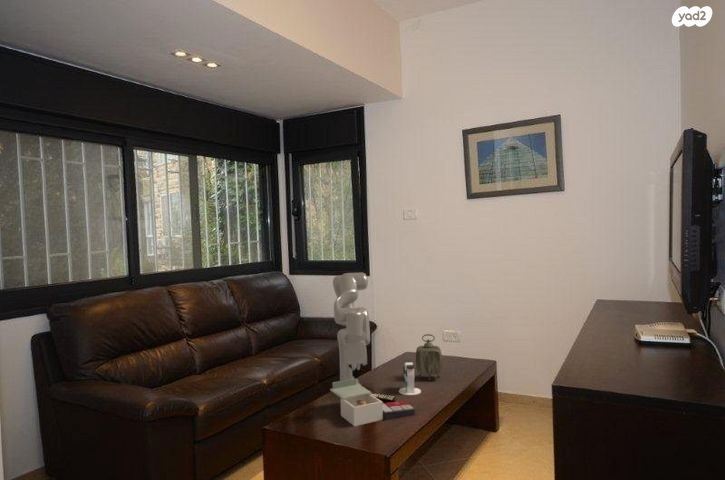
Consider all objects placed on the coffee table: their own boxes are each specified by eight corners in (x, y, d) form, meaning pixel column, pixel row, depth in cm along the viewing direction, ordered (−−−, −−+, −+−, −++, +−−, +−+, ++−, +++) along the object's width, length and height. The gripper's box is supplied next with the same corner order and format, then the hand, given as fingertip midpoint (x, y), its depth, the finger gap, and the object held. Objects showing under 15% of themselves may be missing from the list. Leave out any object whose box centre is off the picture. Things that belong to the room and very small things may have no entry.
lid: (330, 390, 227) (330, 382, 227) (357, 385, 234) (357, 377, 234) (342, 399, 214) (342, 391, 214) (371, 393, 221) (371, 386, 221)
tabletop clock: (442, 376, 270) (440, 332, 269) (443, 381, 261) (442, 336, 260) (416, 376, 271) (415, 332, 271) (416, 381, 262) (415, 336, 262)
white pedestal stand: (397, 388, 253) (396, 359, 252) (418, 387, 254) (417, 358, 253) (400, 395, 241) (399, 366, 240) (422, 394, 242) (422, 365, 241)
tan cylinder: (359, 417, 212) (359, 403, 211) (355, 414, 215) (355, 401, 215) (367, 415, 213) (367, 402, 213) (363, 412, 217) (363, 399, 217)
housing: (340, 415, 217) (340, 398, 217) (368, 409, 224) (367, 392, 224) (354, 426, 205) (353, 407, 205) (382, 419, 211) (382, 401, 211)
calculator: (415, 407, 216) (384, 411, 210) (415, 417, 216) (384, 421, 210) (404, 399, 226) (375, 403, 221) (404, 409, 226) (375, 412, 221)
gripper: (339, 341, 213) (340, 381, 214) (372, 339, 215) (373, 379, 216) (337, 337, 220) (338, 376, 221) (369, 335, 223) (370, 374, 223)
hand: (355, 377), depth 218 cm, fingers closed
